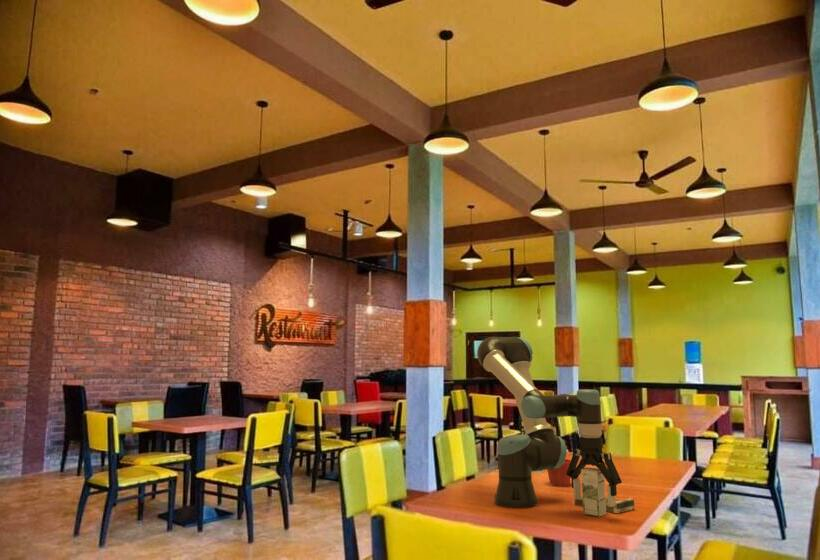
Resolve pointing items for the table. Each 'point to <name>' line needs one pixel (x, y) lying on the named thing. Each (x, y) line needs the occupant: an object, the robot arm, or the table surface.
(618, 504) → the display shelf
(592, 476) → the syrup box
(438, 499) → the table surface
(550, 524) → the table surface
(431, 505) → the table surface
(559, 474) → the flower pot
